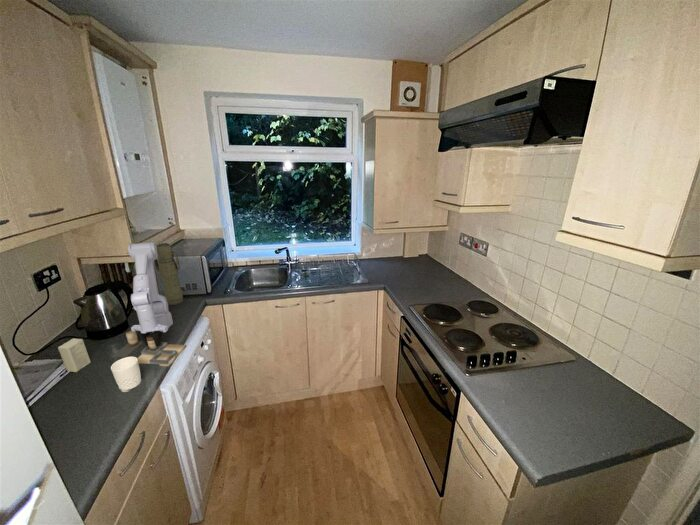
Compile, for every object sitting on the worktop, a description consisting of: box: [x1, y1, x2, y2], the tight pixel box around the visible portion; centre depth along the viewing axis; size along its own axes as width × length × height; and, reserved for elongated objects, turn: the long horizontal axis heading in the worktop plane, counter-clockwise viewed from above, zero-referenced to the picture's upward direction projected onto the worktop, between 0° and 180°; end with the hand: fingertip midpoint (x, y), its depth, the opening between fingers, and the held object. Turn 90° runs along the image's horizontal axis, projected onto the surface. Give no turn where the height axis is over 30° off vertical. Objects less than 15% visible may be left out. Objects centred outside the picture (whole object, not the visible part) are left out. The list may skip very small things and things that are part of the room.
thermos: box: [154, 242, 184, 306], centre depth 166 cm, size 9×12×35 cm
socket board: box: [136, 341, 187, 367], centre depth 126 cm, size 13×15×2 cm
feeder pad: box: [111, 340, 144, 358], centre depth 129 cm, size 11×6×1 cm, turn 178°
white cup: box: [110, 356, 142, 393], centre depth 108 cm, size 8×8×10 cm
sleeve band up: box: [146, 333, 159, 351], centre depth 127 cm, size 4×4×6 cm
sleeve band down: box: [125, 330, 140, 347], centre depth 131 cm, size 4×4×6 cm
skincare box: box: [57, 337, 92, 373], centre depth 116 cm, size 6×4×12 cm
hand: (153, 345), depth 127 cm, fingers closed on sleeve band up, 4 cm apart
